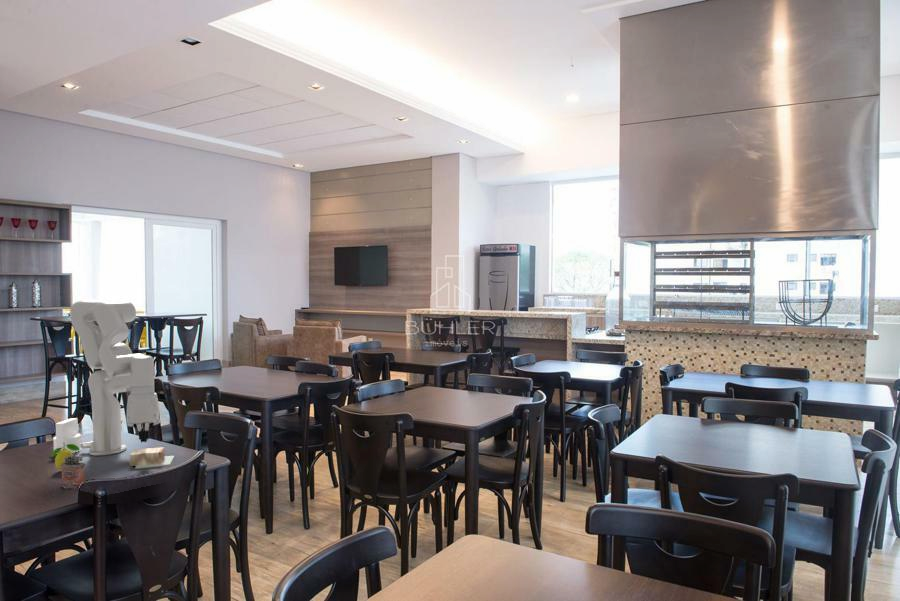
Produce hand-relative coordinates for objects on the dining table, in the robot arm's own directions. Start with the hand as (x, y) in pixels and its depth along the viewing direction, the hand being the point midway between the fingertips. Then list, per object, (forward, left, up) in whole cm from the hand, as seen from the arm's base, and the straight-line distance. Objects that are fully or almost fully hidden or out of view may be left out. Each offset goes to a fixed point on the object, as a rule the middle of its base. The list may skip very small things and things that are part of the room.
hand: (144, 441), depth 215 cm
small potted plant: (-17, -20, -8) cm, 28 cm away
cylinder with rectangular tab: (-32, +27, -8) cm, 43 cm away
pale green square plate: (+3, 0, -8) cm, 9 cm away
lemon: (-25, 0, -8) cm, 26 cm away
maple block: (-4, 0, -6) cm, 7 cm away
